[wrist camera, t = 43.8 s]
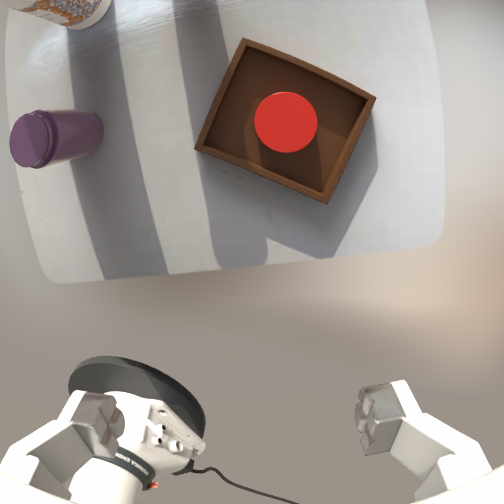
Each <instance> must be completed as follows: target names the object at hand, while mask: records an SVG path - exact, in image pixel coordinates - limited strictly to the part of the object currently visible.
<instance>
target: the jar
mask: <svg viewBox="0 0 504 504" xmlns="http://www.w3.org/2000/svg"><path fill="white" fill-rule="evenodd" d="M102 137H103V125H102V122H101V120H100V118H99V116H98V115H97V114H96V113H94V112H93V111H91V110H80V109H48V110H36V111H33V112H31V113H28V114H25V115H23V116H21V117H20V118H19V119H18V120H17V121H16V122H15V124H14V126H13V129H12V131H11V135H10V151H11V154H12V157H13V159H14V160H15V162H16V163H17V164H18V165H20V166H22V167H31V168H35V169H39V168H43V167H46V166H50V165H54V164H57V163H61V162H65V161H69V160H72V159H76V158H80V157H85V156H88V155H90V154H92V153H93V152H94V151H95V150H96V149H97V148H98V147H99V145H100V143H101V141H102Z"/></svg>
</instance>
